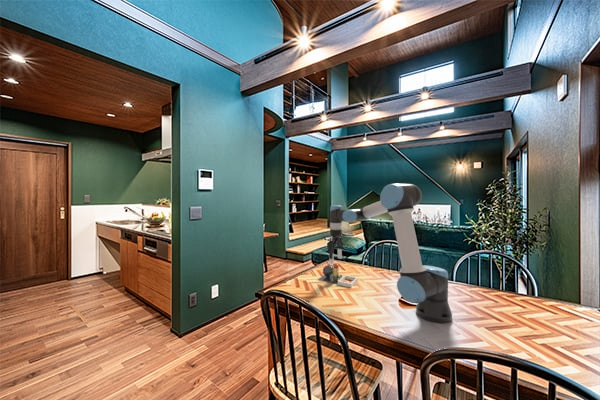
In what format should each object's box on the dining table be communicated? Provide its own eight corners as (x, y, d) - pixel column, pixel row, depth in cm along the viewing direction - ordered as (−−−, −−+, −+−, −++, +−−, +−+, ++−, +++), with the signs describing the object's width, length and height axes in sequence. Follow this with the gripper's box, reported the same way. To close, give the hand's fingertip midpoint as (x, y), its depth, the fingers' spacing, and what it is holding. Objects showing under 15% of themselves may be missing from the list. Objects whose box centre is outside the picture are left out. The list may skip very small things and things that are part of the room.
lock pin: (337, 282, 156) (337, 265, 156) (332, 281, 158) (332, 264, 158) (339, 280, 159) (339, 264, 159) (334, 279, 161) (334, 263, 160)
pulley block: (338, 285, 152) (337, 271, 152) (317, 281, 160) (316, 268, 160) (345, 279, 163) (345, 266, 163) (325, 275, 171) (325, 263, 171)
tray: (351, 288, 147) (351, 283, 147) (337, 285, 152) (337, 281, 152) (358, 281, 158) (358, 277, 158) (345, 279, 163) (345, 275, 163)
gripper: (333, 232, 145) (333, 266, 146) (348, 226, 166) (347, 257, 167) (322, 231, 149) (322, 264, 150) (337, 225, 170) (337, 255, 171)
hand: (335, 260), depth 158 cm, fingers open, 13 cm apart
